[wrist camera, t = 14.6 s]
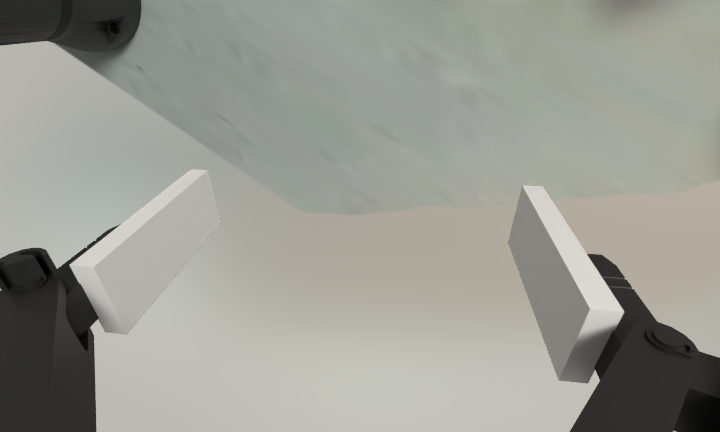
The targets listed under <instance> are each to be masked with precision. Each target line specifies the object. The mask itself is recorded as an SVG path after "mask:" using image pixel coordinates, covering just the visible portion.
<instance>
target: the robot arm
mask: <svg viewBox="0 0 720 432" xmlns="http://www.w3.org/2000/svg"><path fill="white" fill-rule="evenodd" d="M139 18H140V0H0V45H10V44H19V43H29V42H39V41H50V42H53V43H57V44H60V45H64V46H68V47H71V48H75V49H78V50H83V51H90V52H98V51H106V50H113V49H116V48H119V47H121V46H123V45H124V44H125V43H127V42H128V41H129V40H130V39H131V37H132V36H133V34H134V33H135V31H136V28H137V26H138V22H139ZM219 225H220V219H219V215H218V211H217V207H216V203H215V199H214V195H213V191H212V187H211V182H210V178H209V174H208V171H207V170H190V171H188V172H187V173H186V174H185V175H184V176H182V177H181V178H180V179H178V180H177V181H176V182H174V183H173V184H172V185H171V186H169V187H168V188H167V189H166V190H164V191H163V192H162V193H160V194H159V195H158V196H156V197H155V198H154V199H153V200H151V201H150V202H149V203H148V204H146V205H145V206H144V207H142V208H141V209H140V210H139V211H137V212H136V213H135V214H134V215H132V216H131V217H130V218H128V219H127V220H126V221H125V222H124V223H122V224H120V225H118V226H116V227H114V228H112V229H109V230H108V231H106V232H105V233H104V234H102V235H101V236H100V237H98V238H97V239H96V241H93V242H92V243H91V244H89V245H88V246H87V248H84V249H83V250H81V251H80V252H79V253H78V254H76V255H75V256H74V257H72V258H71V259H70V260H68V261H67V262H66V263H65V264H63V265H62V266H61V267H59V268H58V269H56V267H55V265H54V263H53V262H52V260H51V258H50V256H49V255H48V253H47V251H46V250H44V249H42V248H30V249H24V250H20V251H17V252H14V253H11V254H9V255H7V256H5V257H2V258H1V259H0V288H1V290H2V291H0V432H96V401H95V363H94V335H93V333H92V331H91V329H90V327H91V325H92V324H93V323H94V322H95V321H96V320H97V319H98V320H99V321H100V323H101V325H102V327H103V329H104V331H105V332H110V333H120V334H128V332H129V331H130V330H131V329H132V328H133V326H134V325H135V324H136V323H137V322H138V321H139V319H140V318H141V317H142V316H143V315H144V314H145V312H146V311H147V310H148V309H149V308H150V306H151V305H152V304H153V303H154V302H155V301H156V299H157V298H158V297H159V296H160V295H161V294H162V292H163V291H164V290H165V289H166V288H167V286H168V285H169V284H170V283H171V282H172V280H173V279H174V278H175V277H176V276H177V275H178V273H179V272H180V271H181V270H182V269H183V268H184V266H185V265H186V264H187V263H188V262H189V260H190V259H191V258H192V257H193V255H195V253H196V252H197V251H198V250H199V249H200V247H201V246H202V245H203V244H204V243H205V241H206V240H207V239H208V238H209V237H210V236H211V234H212V233H213V232H214V231H215V230H216V228H217V227H218V226H219ZM508 244H509V246H510V249H511V252H512V254H513V257H514V260H515V263H516V265H517V268H518V271H519V273H520V276H521V279H522V282H523V284H524V287H525V290H526V293H527V295H528V298H529V300H530V303H531V306H532V309H533V312H534V314H535V317H536V320H537V323H538V325H539V328H540V331H541V333H542V336H543V339H544V342H545V344H546V347H547V350H548V353H549V355H550V358H551V361H552V363H553V366H554V369H555V372H556V374H557V377H558V380H561V381H571V382H580V383H588V382H589V380H590V378H591V376H592V374H593V372H594V370H596V372H597V374H598V376H599V379H600V382H599V384H598V385H597V387H596V389H595V390H594V392H593V394H592V395H591V397H590V399H589V400H588V402H587V404H586V405H585V407H584V409H583V411H582V412H581V414H580V415H579V417H578V419H577V420H576V422H575V424H574V425H573V427H572V429H571V431H570V432H673V430H674V431H677V432H720V358H718V357H715V356H712V355H708V354H705V353H702V352H699V351H698V350H697V348H696V346H695V345H694V343H693V342H692V341H691V340H690V339H688V338H687V337H686V336H685V335H684V334H682V333H680V332H678V331H677V330H675V329H674V328H672V327H670V326H667V325H664V324H662V323H659V322H657V321H656V320H655V318H654V317H653V316H652V314H651V313H650V311H649V310H648V309H647V307H646V306H645V305H644V303H643V302H642V300H641V299H640V298H639V296H638V295H637V294H636V292H635V291H634V289H632V287H631V285H630V284H629V283H628V281H627V280H625V279H624V278H625V277H624V276H623V275H622V273H621V272H620V270H619V269H618V268H617V266H616V265H615V264H613V263H612V262H611V261H609V260H608V259H607V258H605V257H604V256H602V255H595V254H586V252H585V251H584V249H583V247H582V246H581V244H580V243H579V241H578V240H577V238H576V237H575V235H574V234H573V232H572V231H571V229H570V228H569V226H568V224H567V223H566V221H565V220H564V219H563V217H562V215H561V214H560V212H559V211H558V209H557V208H556V206H555V205H554V203H553V201H552V200H551V198H550V197H549V195H548V194H547V192H546V191H545V189H544V188H543V187H542V186H522V189H521V193H520V197H519V201H518V205H517V209H516V213H515V217H514V221H513V225H512V230H511V233H510V237H509V242H508Z"/></svg>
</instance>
